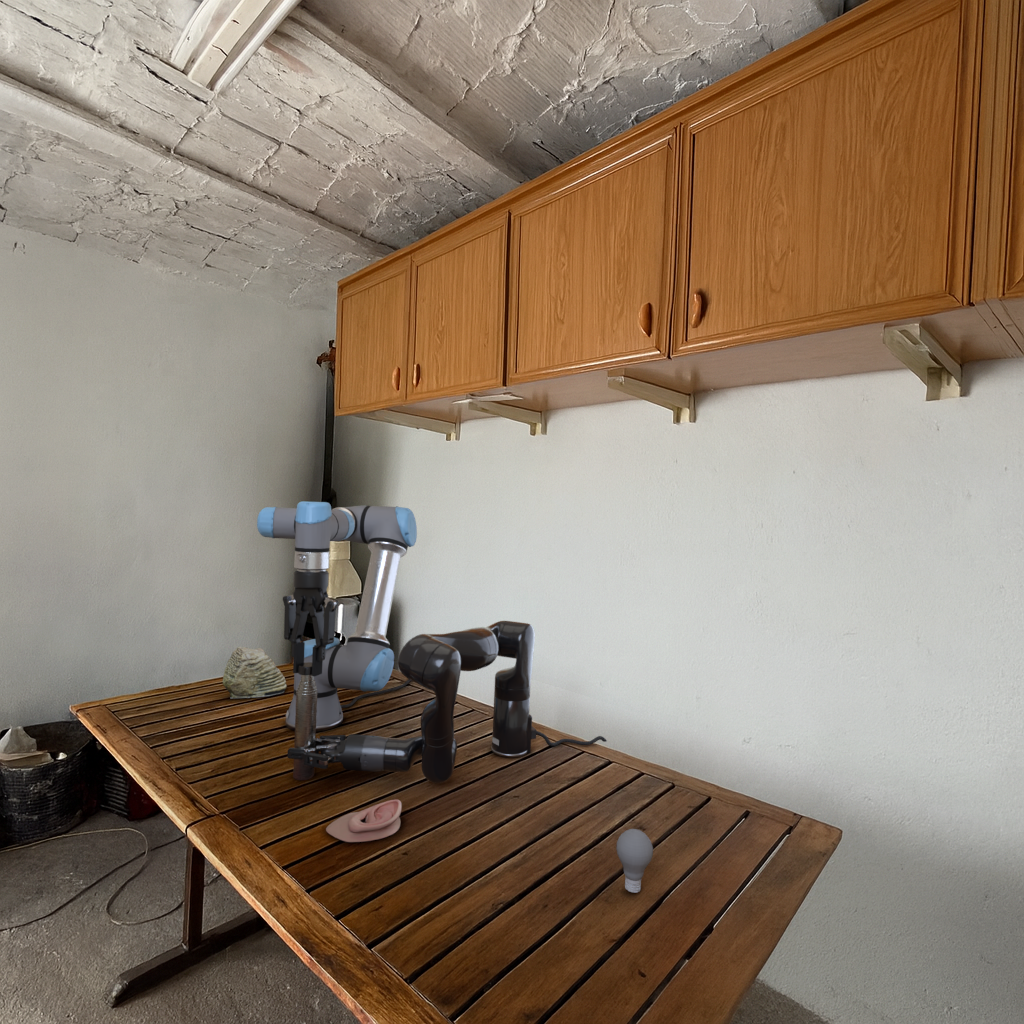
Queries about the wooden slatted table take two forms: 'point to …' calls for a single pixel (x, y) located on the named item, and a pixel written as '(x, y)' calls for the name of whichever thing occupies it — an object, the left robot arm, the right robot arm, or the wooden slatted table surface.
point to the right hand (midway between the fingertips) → (293, 748)
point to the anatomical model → (368, 823)
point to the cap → (305, 668)
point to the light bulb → (634, 857)
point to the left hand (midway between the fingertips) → (307, 673)
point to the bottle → (305, 724)
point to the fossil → (252, 674)
